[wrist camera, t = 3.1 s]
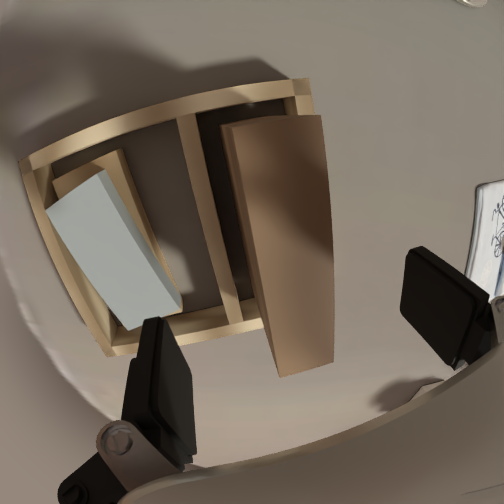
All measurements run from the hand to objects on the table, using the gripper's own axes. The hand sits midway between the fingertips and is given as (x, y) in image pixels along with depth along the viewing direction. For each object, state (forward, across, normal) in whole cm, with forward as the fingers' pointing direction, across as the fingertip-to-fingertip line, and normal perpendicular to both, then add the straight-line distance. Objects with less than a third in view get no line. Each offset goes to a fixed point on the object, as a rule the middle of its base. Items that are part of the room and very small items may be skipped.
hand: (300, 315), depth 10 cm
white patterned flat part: (+11, -33, +9) cm, 36 cm away
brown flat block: (+11, -1, -1) cm, 11 cm away
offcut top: (+9, +9, -1) cm, 13 cm away
